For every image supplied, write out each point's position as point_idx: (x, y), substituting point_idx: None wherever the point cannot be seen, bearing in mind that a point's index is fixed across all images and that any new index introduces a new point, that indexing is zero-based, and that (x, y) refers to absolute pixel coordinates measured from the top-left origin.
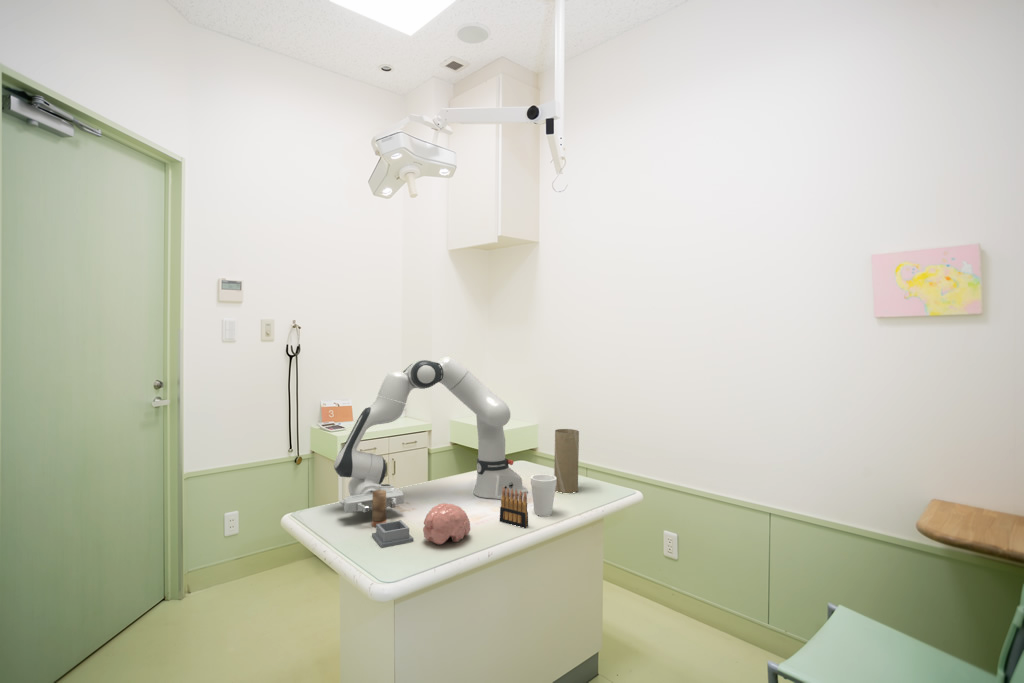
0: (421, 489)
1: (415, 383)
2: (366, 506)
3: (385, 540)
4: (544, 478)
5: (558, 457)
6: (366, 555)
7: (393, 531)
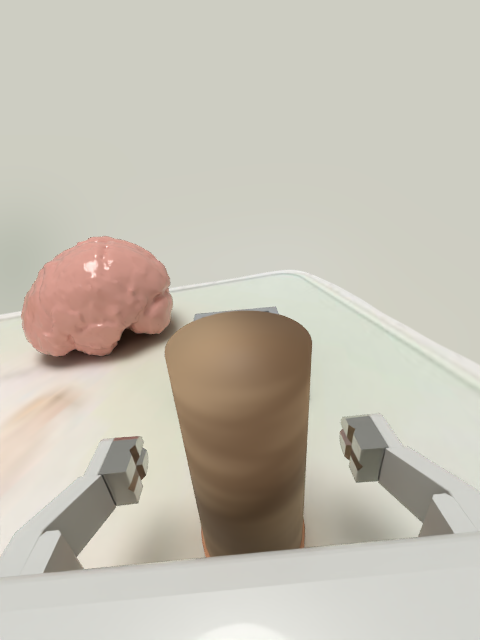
0: None
1: None
2: (360, 419)
3: None
4: None
5: None
6: (323, 319)
7: (246, 310)
